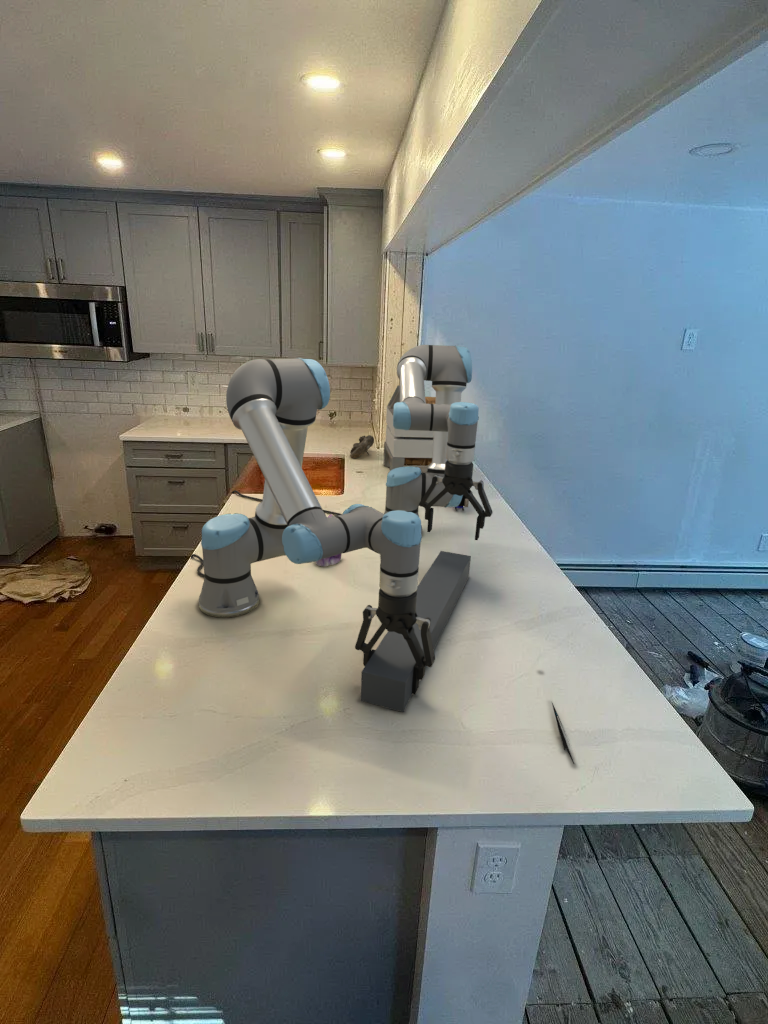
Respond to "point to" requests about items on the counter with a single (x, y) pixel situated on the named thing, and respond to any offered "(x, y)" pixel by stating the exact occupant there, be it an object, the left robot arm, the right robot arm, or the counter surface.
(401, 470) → the right robot arm
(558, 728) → the feather
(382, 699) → the thick board
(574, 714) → the counter surface
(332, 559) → the figurine
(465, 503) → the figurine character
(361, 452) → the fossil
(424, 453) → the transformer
